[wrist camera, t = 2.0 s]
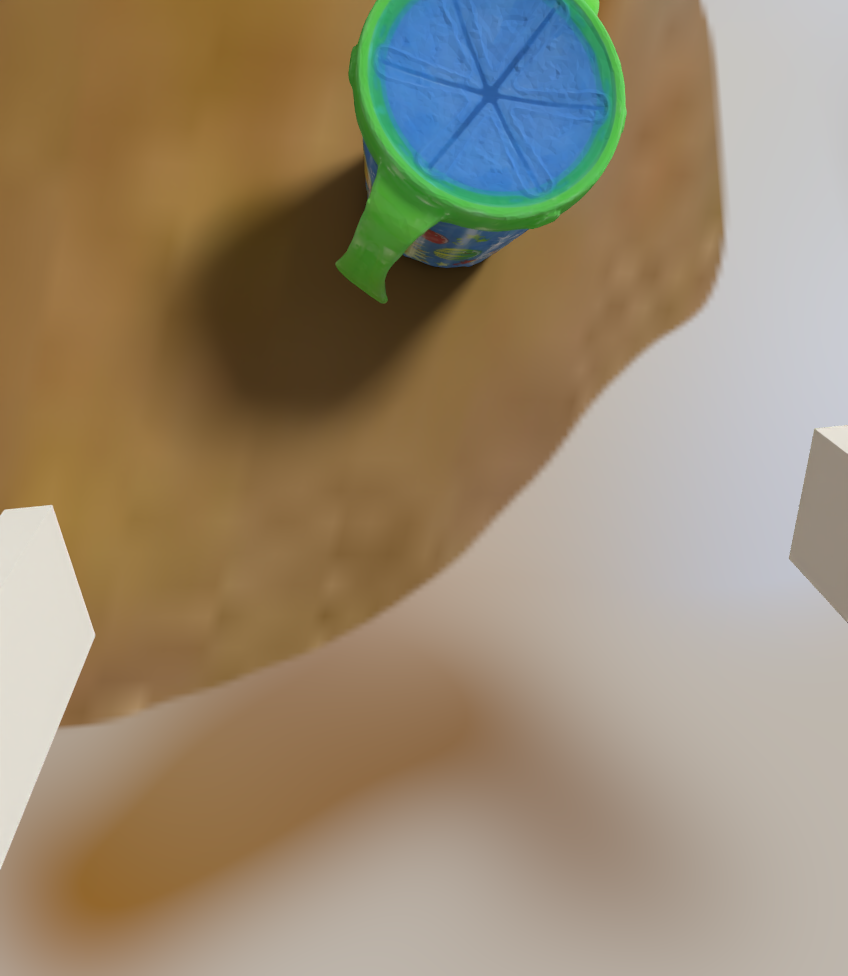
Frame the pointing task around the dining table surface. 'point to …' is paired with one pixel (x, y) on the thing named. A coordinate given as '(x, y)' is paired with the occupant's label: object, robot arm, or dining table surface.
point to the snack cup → (476, 126)
